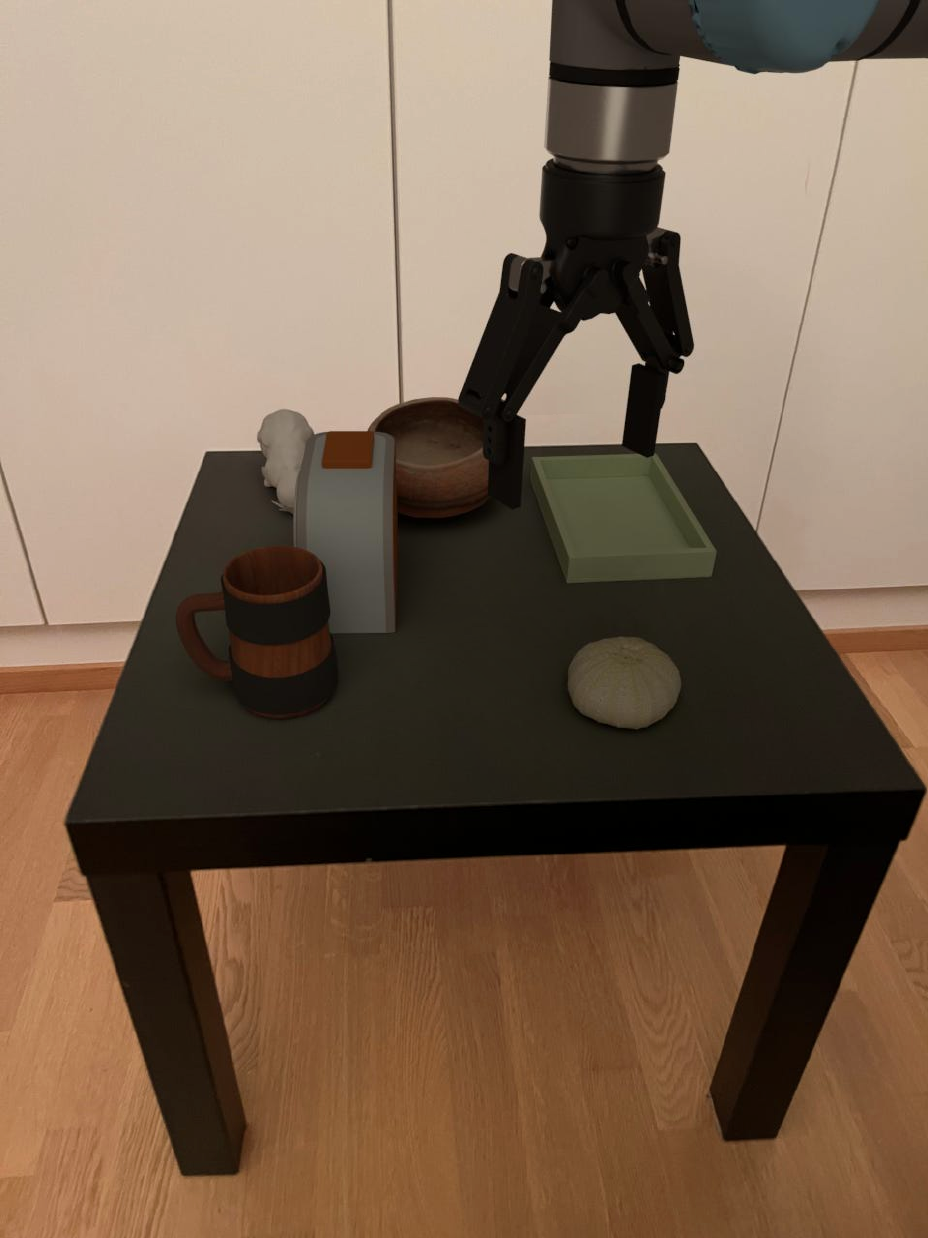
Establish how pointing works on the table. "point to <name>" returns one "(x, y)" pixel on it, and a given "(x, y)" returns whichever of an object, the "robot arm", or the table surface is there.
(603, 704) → the sea urchin shell
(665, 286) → the robot arm
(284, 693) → the mug
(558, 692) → the table surface
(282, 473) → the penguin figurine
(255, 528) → the table surface
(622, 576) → the tray
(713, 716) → the table surface
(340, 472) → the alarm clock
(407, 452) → the bowl
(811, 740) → the table surface
